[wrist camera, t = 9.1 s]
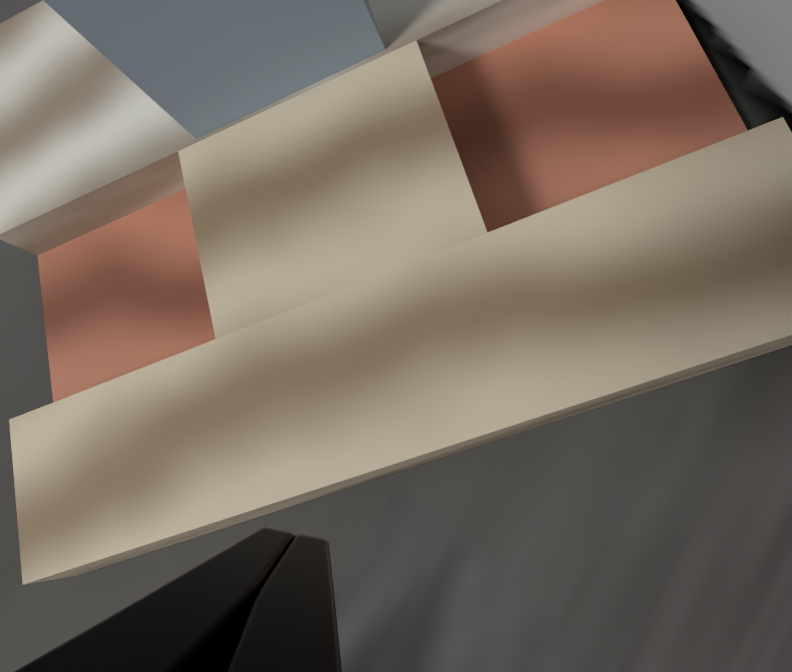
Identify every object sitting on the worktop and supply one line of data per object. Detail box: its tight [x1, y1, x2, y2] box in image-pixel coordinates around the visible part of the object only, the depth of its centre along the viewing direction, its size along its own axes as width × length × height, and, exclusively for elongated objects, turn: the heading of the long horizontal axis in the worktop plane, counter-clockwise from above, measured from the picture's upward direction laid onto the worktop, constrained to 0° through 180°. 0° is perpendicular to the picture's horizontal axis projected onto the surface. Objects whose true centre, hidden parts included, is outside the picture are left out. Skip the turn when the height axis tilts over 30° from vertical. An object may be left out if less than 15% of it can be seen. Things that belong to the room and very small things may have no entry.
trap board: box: [0, 0, 792, 585], centre depth 24 cm, size 25×28×2 cm
